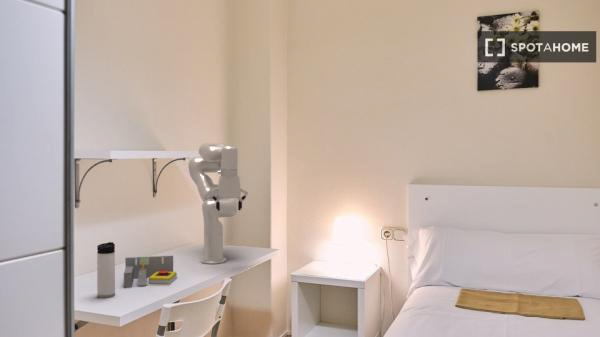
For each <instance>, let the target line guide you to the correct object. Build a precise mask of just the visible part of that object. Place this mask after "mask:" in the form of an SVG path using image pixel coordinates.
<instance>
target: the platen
mask: <svg viewBox="0 0 600 337" xmlns="http://www.w3.org/2000/svg"><path fill="white" fill-rule="evenodd" d="M137 279H138V280H137V281H138V282H137V283H138V287H139V286H141V287H142V286H143V287H144V286H147V284H148V283H147V282H148V278H147V268H144V261H142V268H140V269H139V274H138V278H137Z"/></svg>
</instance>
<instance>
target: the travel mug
mask: <svg viewBox="0 0 600 337" xmlns="http://www.w3.org/2000/svg"><path fill="white" fill-rule="evenodd" d="M96 247H97V251H96V253H97V254H96V255H97V256H96V257H97V259H96V261H97V263H96V264H97V271H96V274H97V276H96V277H97V279H96V280H97V282H96V283H97V287H96V288H97V289H96V290H97V293H96V294H97V298H101V299H106V298H108V299H109V298H112V297H114V296H115V295H116V251H115V250H116V245H115V243H114V242H112V241H109V242H106V243H101V244H98V245H97V246H96Z"/></svg>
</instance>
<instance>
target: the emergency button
mask: <svg viewBox="0 0 600 337" xmlns="http://www.w3.org/2000/svg"><path fill="white" fill-rule="evenodd" d="M177 274H178V273H177V271H173V272H168V271H160V272H156V273H154V274H153V275H152V276H150V277H148V283H146V286H147V287H169V286H170V285H172V284H173V282H175V281H176V280H177V279H178V278H179V277H178V275H177Z"/></svg>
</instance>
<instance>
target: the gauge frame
mask: <svg viewBox="0 0 600 337" xmlns="http://www.w3.org/2000/svg"><path fill="white" fill-rule="evenodd" d="M124 260H125V268H124V272H123V288H124V289H125V288H132V287H133V284H134V280H135V279H138V274H139V269H140V268H142V261H144V268H147V279H149V277H150V276H152V275H153V274H154V273H156V272H160V271H168V272H174V255H157V256H156V255H155V256H154V255H152V256H134V257H133V256H132V257H125V259H124Z"/></svg>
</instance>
